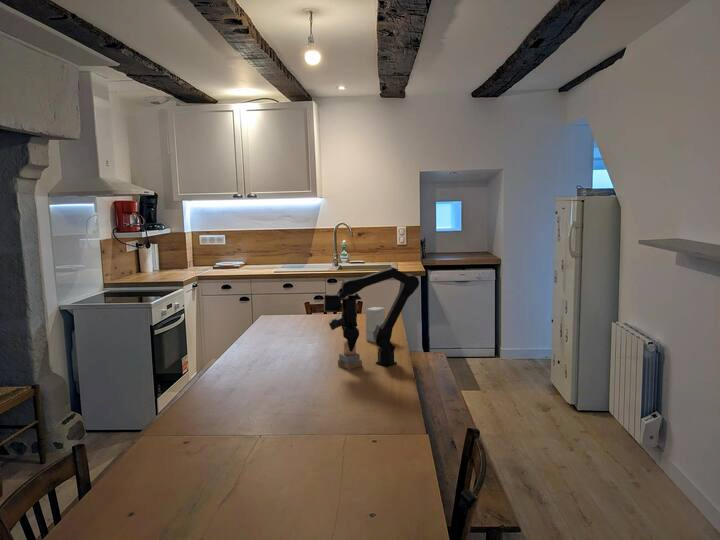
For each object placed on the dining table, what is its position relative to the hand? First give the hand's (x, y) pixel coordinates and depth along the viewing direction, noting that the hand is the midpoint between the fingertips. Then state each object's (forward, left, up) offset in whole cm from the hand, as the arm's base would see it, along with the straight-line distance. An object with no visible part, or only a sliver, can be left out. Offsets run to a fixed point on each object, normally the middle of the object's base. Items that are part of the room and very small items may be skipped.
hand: (350, 348), depth 220 cm
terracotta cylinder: (0, 0, -2) cm, 3 cm away
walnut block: (0, 0, -8) cm, 8 cm away
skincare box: (+22, -34, -8) cm, 42 cm away
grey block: (0, 0, -5) cm, 5 cm away
